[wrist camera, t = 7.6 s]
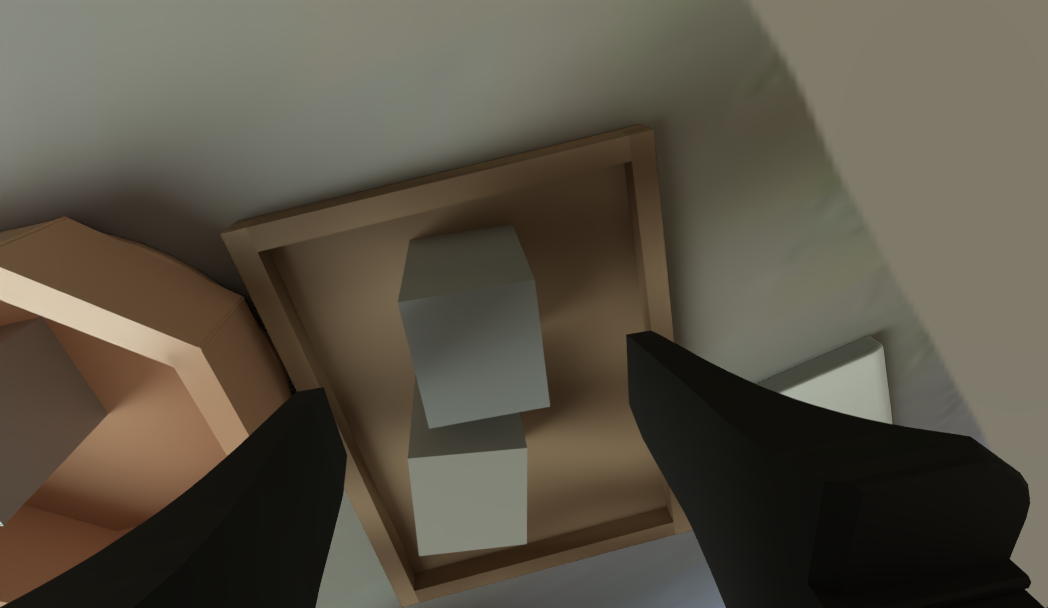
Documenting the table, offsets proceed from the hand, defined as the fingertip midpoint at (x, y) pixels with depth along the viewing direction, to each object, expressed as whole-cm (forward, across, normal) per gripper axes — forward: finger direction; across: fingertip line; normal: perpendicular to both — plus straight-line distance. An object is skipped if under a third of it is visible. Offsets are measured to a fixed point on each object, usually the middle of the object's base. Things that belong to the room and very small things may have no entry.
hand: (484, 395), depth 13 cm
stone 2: (+7, 0, 0) cm, 7 cm away
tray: (+7, 0, +5) cm, 9 cm away
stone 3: (+7, +1, +5) cm, 9 cm away
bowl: (+7, +14, +2) cm, 16 cm away
